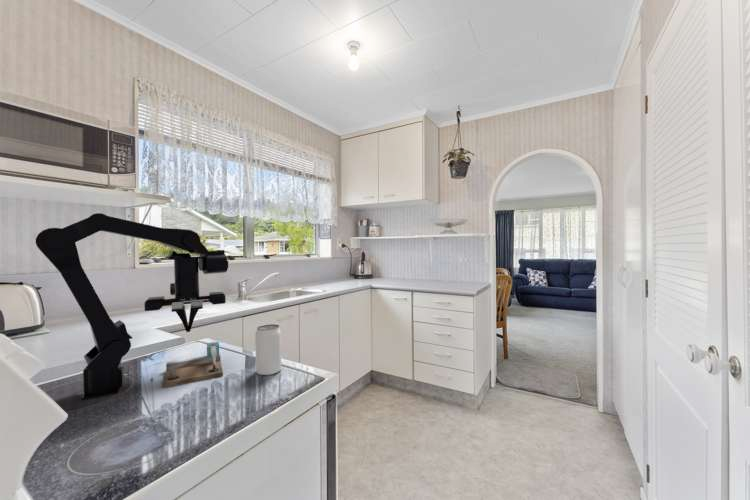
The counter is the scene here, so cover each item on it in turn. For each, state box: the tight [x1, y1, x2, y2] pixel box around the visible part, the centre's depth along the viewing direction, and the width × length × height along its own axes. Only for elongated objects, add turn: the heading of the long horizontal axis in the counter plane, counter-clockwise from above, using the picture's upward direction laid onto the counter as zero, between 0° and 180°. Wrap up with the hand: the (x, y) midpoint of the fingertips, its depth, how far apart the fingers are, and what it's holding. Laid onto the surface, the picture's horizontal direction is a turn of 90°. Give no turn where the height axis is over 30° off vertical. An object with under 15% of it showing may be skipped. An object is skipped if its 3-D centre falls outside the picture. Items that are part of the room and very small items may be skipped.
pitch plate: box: [162, 353, 224, 389], centre depth 83 cm, size 13×12×4 cm
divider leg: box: [206, 341, 220, 369], centre depth 87 cm, size 3×10×4 cm, turn 30°
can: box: [254, 323, 282, 376], centre depth 84 cm, size 6×6×12 cm
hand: (188, 331), depth 87 cm, fingers closed
